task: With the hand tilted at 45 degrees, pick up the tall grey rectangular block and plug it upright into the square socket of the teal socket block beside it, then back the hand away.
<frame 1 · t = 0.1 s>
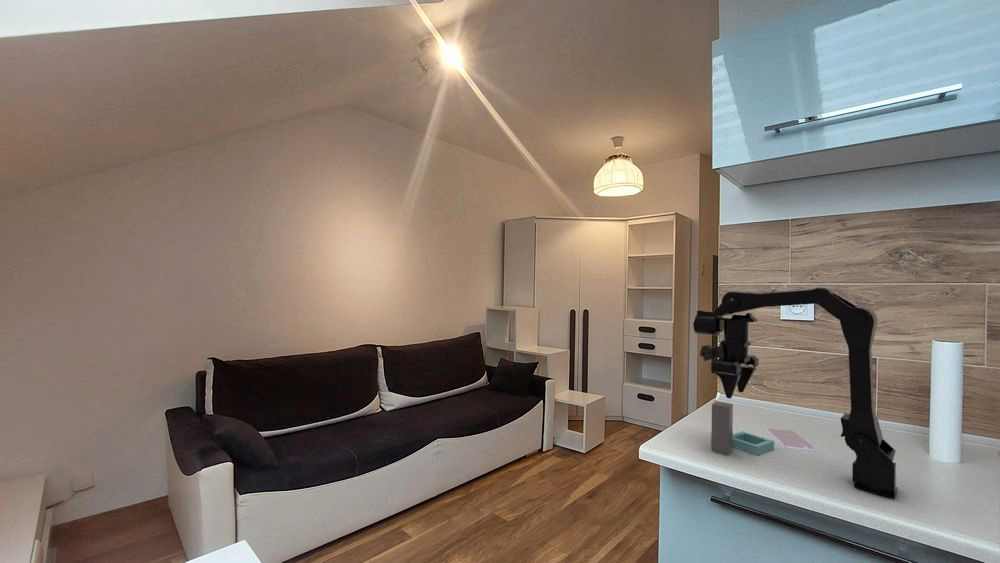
hand: (734, 395, 110), 15 cm above the worktop, tool pointing down, fingers open, 9 cm apart
grey rectangular block: (721, 450, 109), on the worktop
mobile phone: (790, 441, 118), on the worktop
socket block: (749, 446, 112), on the worktop
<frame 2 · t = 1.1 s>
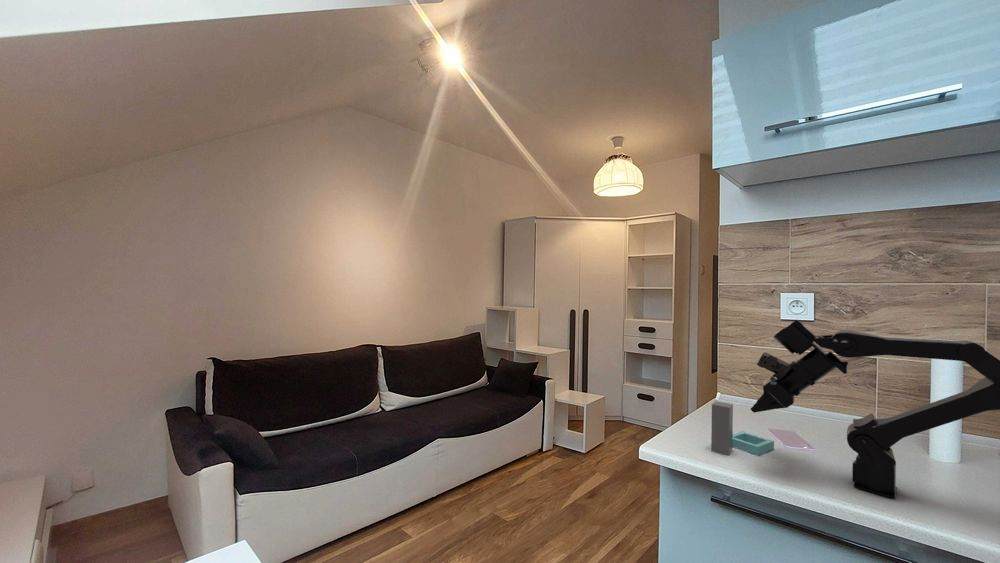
hand: (755, 406, 104), 13 cm above the worktop, tool tilted 45°, fingers open, 9 cm apart
nothing on the worktop moved.
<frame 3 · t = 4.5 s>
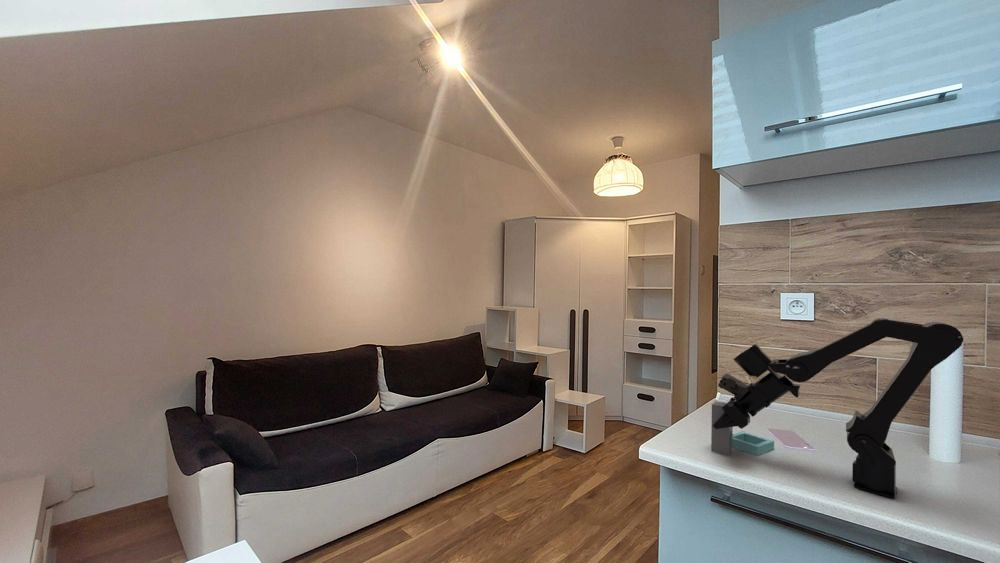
hand: (716, 425, 110), 7 cm above the worktop, tool tilted 45°, fingers closed on grey rectangular block, 4 cm apart
grey rectangular block: (721, 450, 109), on the worktop, touching gripper
everything else where it was.
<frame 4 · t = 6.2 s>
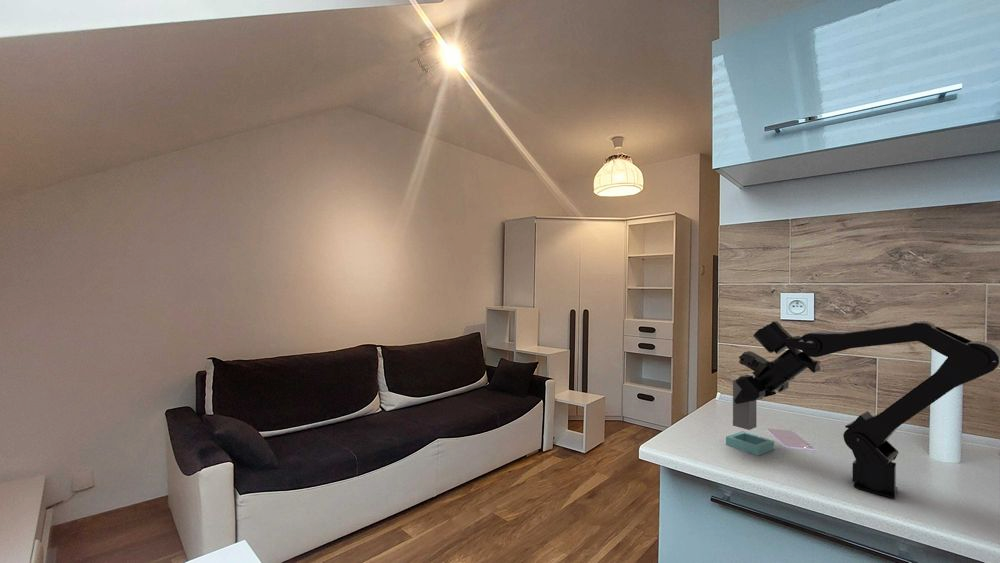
hand: (739, 401, 113), 12 cm above the worktop, tool tilted 45°, fingers closed on grey rectangular block, 4 cm apart
grey rectangular block: (744, 426, 112), point 6 cm above the worktop, touching gripper
everything else where it was.
when the fingers open (7 cm above the worktop, at t = 8.3 s): grey rectangular block stays where it is, resting in socket block.
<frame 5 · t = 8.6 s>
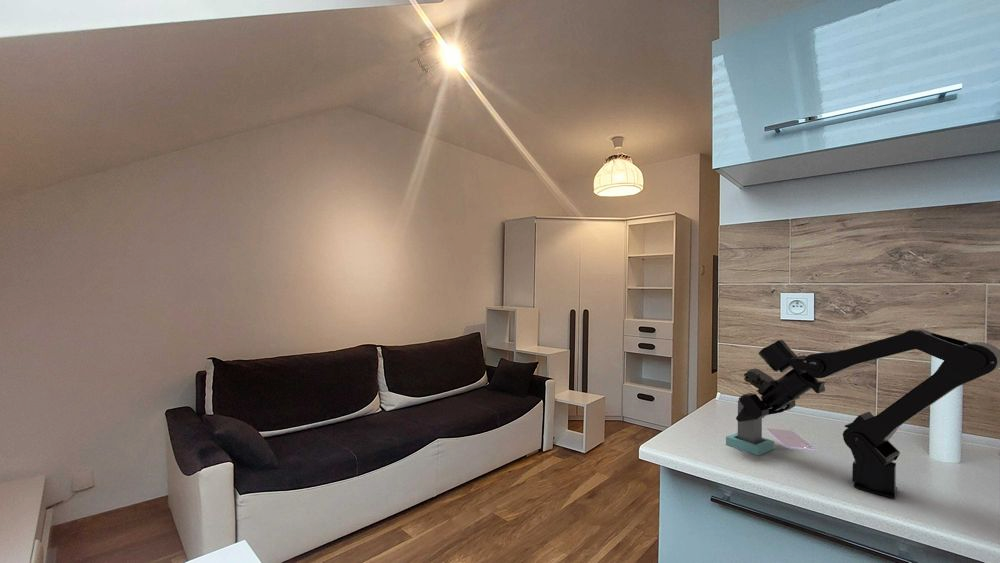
hand: (744, 417, 113), 8 cm above the worktop, tool tilted 45°, fingers open, 7 cm apart
grey rectangular block: (749, 446, 112), resting in socket block
everything else where it was.
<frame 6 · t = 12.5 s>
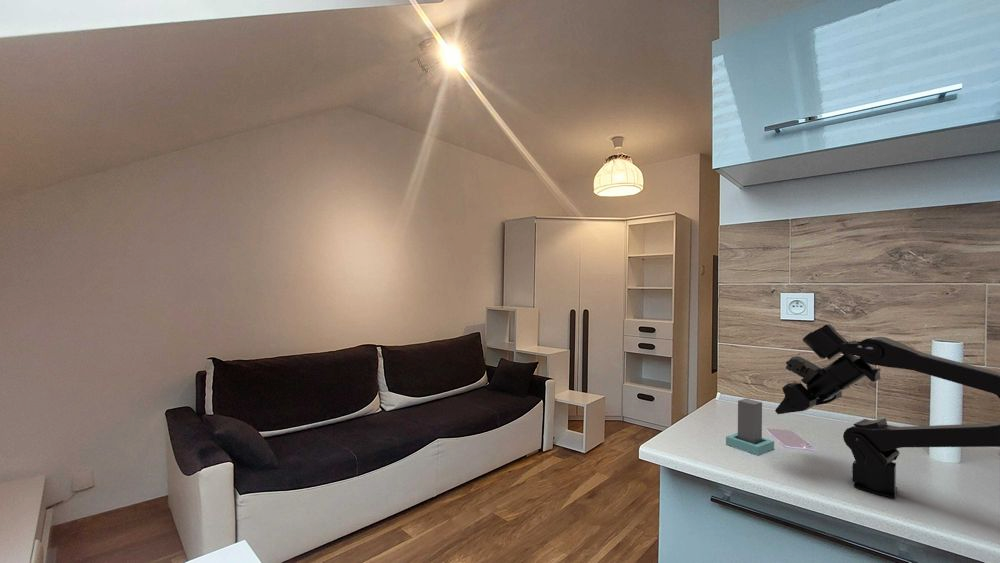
hand: (785, 409, 104), 13 cm above the worktop, tool tilted 45°, fingers open, 9 cm apart
nothing on the worktop moved.
at the end: grey rectangular block 0.0 cm off-centre on the socket block, point 0.0 cm above the socket block's base; grey rectangular block tilted 0°; the gripper is holding nothing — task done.
